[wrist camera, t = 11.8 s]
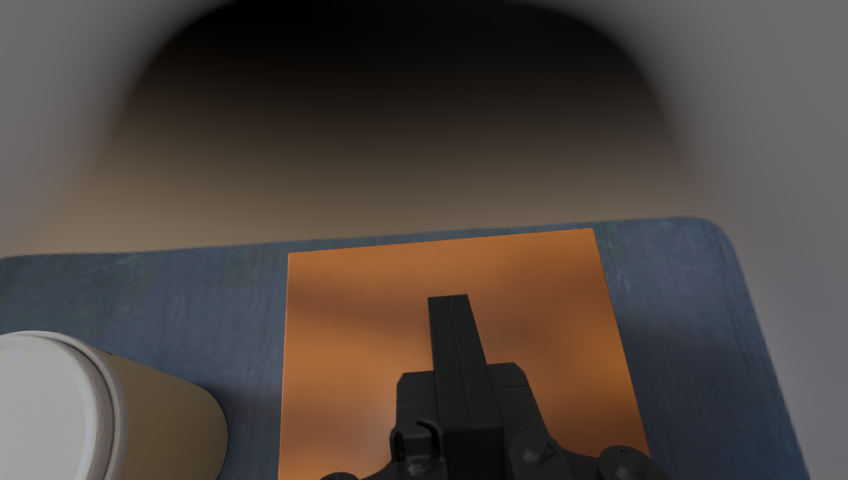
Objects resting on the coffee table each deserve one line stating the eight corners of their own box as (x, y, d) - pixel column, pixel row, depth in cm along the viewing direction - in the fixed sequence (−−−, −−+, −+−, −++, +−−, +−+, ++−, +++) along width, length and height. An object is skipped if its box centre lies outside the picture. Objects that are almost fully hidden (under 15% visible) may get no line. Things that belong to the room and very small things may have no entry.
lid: (293, 258, 21) (287, 252, 20) (587, 234, 21) (593, 227, 20) (272, 751, 14) (263, 768, 13) (705, 711, 14) (720, 727, 13)
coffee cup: (200, 337, 29) (56, 279, 18) (271, 465, 26) (149, 490, 15) (60, 432, 27) (-199, 433, 16) (119, 584, 24) (-151, 713, 13)
